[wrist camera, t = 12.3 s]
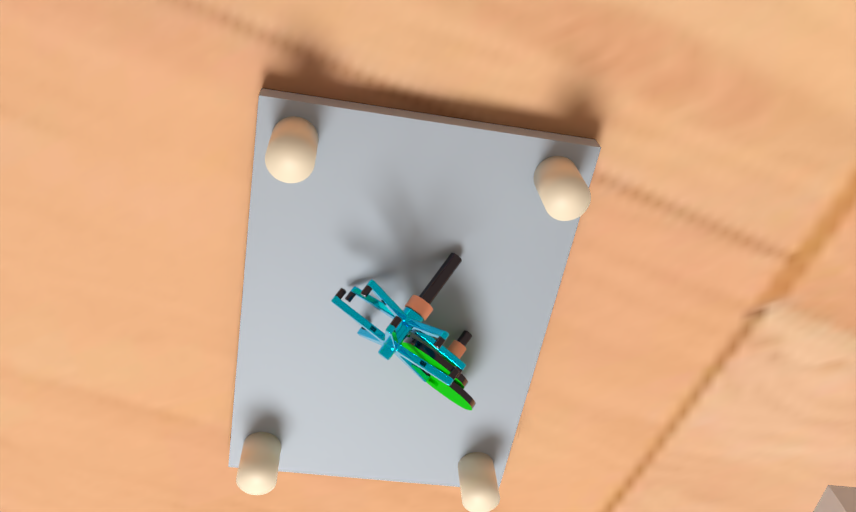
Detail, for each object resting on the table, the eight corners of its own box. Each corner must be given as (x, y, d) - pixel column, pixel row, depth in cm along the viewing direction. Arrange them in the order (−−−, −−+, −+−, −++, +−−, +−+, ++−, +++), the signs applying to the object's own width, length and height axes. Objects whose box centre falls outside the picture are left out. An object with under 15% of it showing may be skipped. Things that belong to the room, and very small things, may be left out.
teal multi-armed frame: (299, 293, 43) (391, 344, 37) (376, 196, 45) (475, 230, 39) (407, 395, 51) (495, 449, 45) (468, 309, 53) (561, 350, 47)
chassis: (231, 453, 52) (220, 501, 49) (261, 88, 41) (251, 115, 37) (495, 477, 55) (504, 524, 51) (595, 139, 43) (616, 169, 40)
